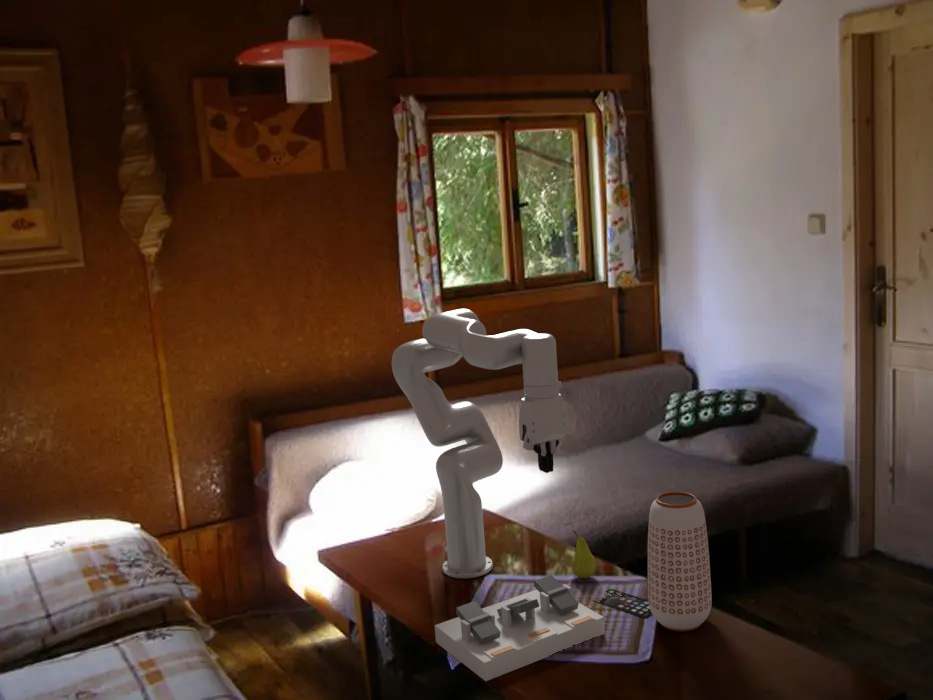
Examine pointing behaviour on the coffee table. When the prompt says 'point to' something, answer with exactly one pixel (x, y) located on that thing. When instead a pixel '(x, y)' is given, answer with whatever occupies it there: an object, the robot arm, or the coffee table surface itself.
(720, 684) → the coffee table surface
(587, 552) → the fruit
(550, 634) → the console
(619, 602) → the smartphone
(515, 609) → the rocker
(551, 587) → the rocker
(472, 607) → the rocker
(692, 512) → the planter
